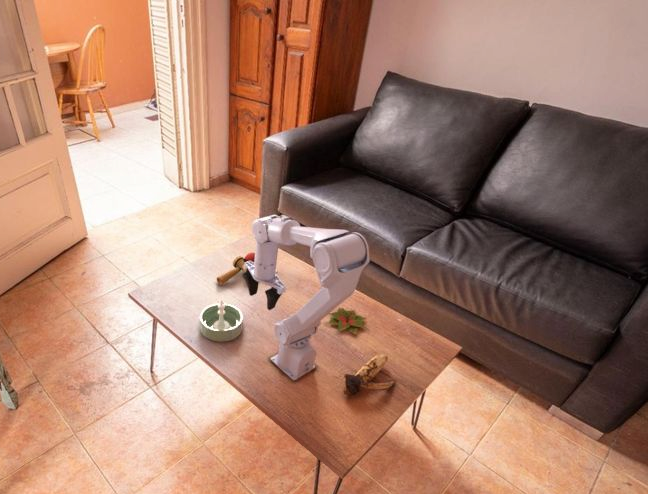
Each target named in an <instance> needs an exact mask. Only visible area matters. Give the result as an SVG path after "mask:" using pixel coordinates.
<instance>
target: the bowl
mask: <svg viewBox="0 0 648 494" xmlns="http://www.w3.org/2000/svg"><path fill="white" fill-rule="evenodd" d="M219 304H220V303H213V304H211V305H210V304H209V305H208V306H206V307H205V308H204V309H202V311H201V312H200V315H199V327H200V329H199V330H200V332H201V334H202V335H203V336H204V337H205V338H207V339H209V340H211V341H214V342H228V341H232V340H234V339H236V338H238V337H239V336H240V334H242V332H243V331H242V330H243V323H244V316H243V315H244V314H243V313H242V311H241V310H240V309H239V308H238V307H237V306H235V305H232V304H230V303H226V302H225V303H224V305H225V308H224V311H225V314H224V315H223V317H224V320H225V321H227V322H228V323H229V325H230V328H229V329H226V330H217V329H213V324H214V322H216V321H217V320H219V316H220V315H219V314H218V311H219V308H218V305H219Z"/></svg>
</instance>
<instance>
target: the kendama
mask: <svg viewBox="0 0 648 494" xmlns="http://www.w3.org/2000/svg"><path fill="white" fill-rule="evenodd" d="M248 261H251V262H253V263H254V261H255V252H249V253H247V254H246V255H245V256H241V255H239V256H237V257H235V258H234V259H233V261H232V267H233V269H230V270H228V271H227V272H225V273H222V274H221V275H219V276H217V277H216V282H217V283H218V284H219V286H223V285H224V284H225V283H227V282H228V281H230V280H231V279H232V278H234V277H235V276H236V275H238V274H239V273H240V272H241V271H242V274H243V273H245V272H246V271H247V270H245V269H244V263H245V262H248Z"/></svg>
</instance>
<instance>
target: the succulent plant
mask: <svg viewBox="0 0 648 494" xmlns="http://www.w3.org/2000/svg"><path fill="white" fill-rule="evenodd" d="M328 315H330V316H331V317H333V318H330V320H329V321H328V322H327V324H329V325H335V326H338V333H339V332H342V331H344V330H347V331H348V332H351V333H352V334H354V335H355V336H356V335H357V332H358V327H359V328H362V329H366V326H365V325H364V323H363V322H364V321H365V320H366V319H367V317H364V316H362V315H358V314H357V312H356V311H355V309H354V310H349V308H348V307H347V308H346V309H344V307H342V308H341V307H339V306H338V309H337V310H336V311H335V312H330V313H329V314H328Z"/></svg>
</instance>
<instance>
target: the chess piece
mask: <svg viewBox="0 0 648 494" xmlns="http://www.w3.org/2000/svg"><path fill="white" fill-rule="evenodd" d="M218 303H220V304H219V305H218V308H219V311H218V314H219V315H220V316H219V320H217V321H216V322H214V324H213V329H217V330H226V329H229V328H230V325H229V323H228V322H227V321H225V320H224V317H223V315H224V314H225V311H224V308H225V305H224V303H225V304H226V302H225V301H223V299H220V300H218ZM218 303H217V304H218Z"/></svg>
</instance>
